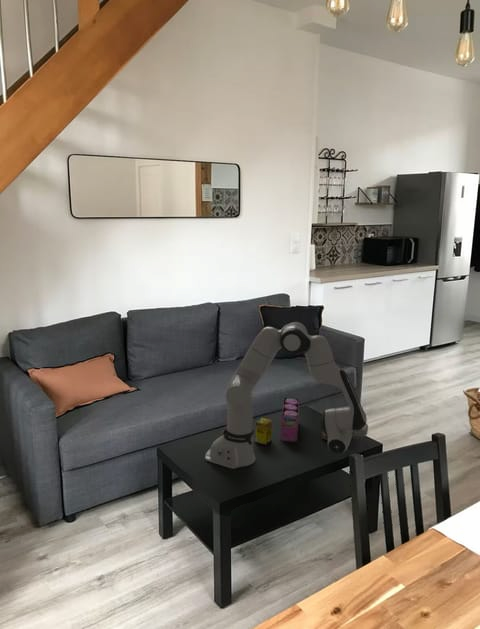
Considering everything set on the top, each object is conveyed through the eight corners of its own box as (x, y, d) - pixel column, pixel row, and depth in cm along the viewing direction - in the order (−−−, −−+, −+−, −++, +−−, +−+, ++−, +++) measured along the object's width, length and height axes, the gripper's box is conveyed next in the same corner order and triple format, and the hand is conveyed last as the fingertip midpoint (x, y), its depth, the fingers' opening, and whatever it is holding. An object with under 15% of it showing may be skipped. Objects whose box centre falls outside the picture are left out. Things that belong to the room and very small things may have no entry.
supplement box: (265, 446, 241) (266, 424, 238) (254, 443, 244) (255, 421, 241) (271, 441, 246) (272, 420, 243) (260, 438, 249) (261, 417, 246)
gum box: (283, 420, 270) (284, 396, 267) (298, 421, 269) (299, 397, 266) (280, 440, 247) (281, 414, 244) (297, 442, 246) (298, 415, 243)
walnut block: (320, 438, 250) (321, 423, 248) (324, 430, 259) (325, 415, 257) (341, 442, 246) (342, 426, 245) (344, 433, 256) (345, 418, 254)
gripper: (367, 429, 220) (370, 417, 233) (320, 421, 226) (325, 409, 239) (366, 442, 221) (369, 430, 234) (319, 434, 228) (324, 422, 241)
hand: (347, 419), depth 237 cm, fingers closed on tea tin, 5 cm apart
